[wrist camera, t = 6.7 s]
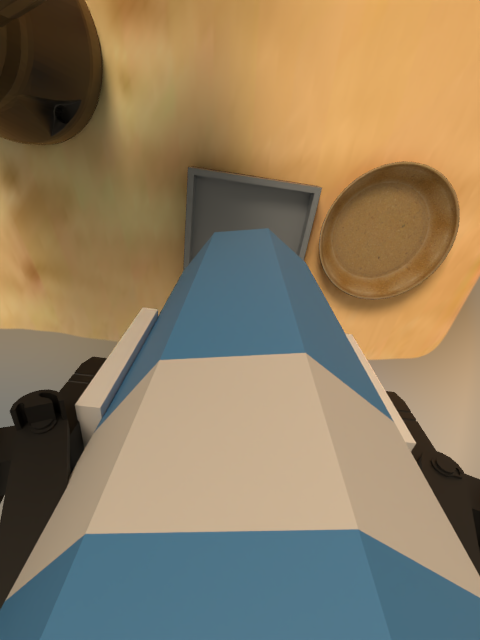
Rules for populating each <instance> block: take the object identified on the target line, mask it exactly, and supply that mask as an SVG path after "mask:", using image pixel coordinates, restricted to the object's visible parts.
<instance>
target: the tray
mask: <svg viewBox="0 0 480 640" xmlns="http://www.w3.org/2000/svg"><path fill="white" fill-rule="evenodd" d="M321 189H322V188H321V187H318V186H314V185H307V184H301V183H295V182H288V181H282V180H275V179H269V178H262V177H256V176H249V175H243V174H236V173H230V172H223V171H217V170H211V169H204V168H198V167H188V182H187V204H186V227H185V249H184V270H185V268H186V267H187V266H188V265H189V263H190V262H191V261H192V260H193V258H194V257H195V256H196V255H197V253H198V252H199V251H200V250H201V248H202V247H203V246H204V245H205V244H206V242H207V241H208V240H209V239H210V237H211V236H212V235H213V234H214V232H225V231H238V230H252V229H265V228H269V229H270V230H271V231H272V232H273V233H274V234H275V235H276V236H277V237H278V238H279V239H280V240H282V241H283V242H284V243H285V244H286V245H287V246H288V247H289V248H290V249H291V250H292V251H294V252H295V253H296V254H297V255H298V256H299V257H300V258H301V259H302V260H303V261H304V257H305V253H306V249H307V245H308V241H309V237H310V233H311V229H312V225H313V221H314V217H315V213H316V209H317V205H318V201H319V197H320V193H321Z"/></svg>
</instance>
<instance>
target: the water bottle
mask: <svg viewBox="0 0 480 640" xmlns="http://www.w3.org/2000/svg"><path fill="white" fill-rule="evenodd" d="M0 640H480V576H479V574H478V572H477V570H476V569H475V567H474V565H473V563H472V561H471V560H470V558H469V556H468V554H467V552H466V551H465V549H464V547H463V545H462V543H461V542H460V540H459V538H458V536H457V534H456V533H455V531H454V529H453V527H452V525H451V524H450V522H449V520H448V518H447V516H446V515H445V513H444V511H443V509H442V507H441V506H440V504H439V502H438V500H437V498H436V497H435V495H434V493H433V491H432V489H431V488H430V486H429V484H428V482H427V480H426V479H425V477H424V475H423V473H422V471H421V470H420V468H419V466H418V464H417V462H416V460H415V459H414V457H413V455H412V453H411V451H410V450H409V448H408V446H407V444H406V442H405V441H404V439H403V437H402V435H401V433H400V432H399V430H398V428H397V426H396V424H395V423H394V421H393V419H392V417H391V415H390V414H389V412H388V410H387V408H386V406H385V405H384V403H383V401H382V399H381V397H380V396H379V394H378V392H377V390H376V388H375V387H374V385H373V383H372V381H371V379H370V378H369V376H368V374H367V372H366V370H365V369H364V367H363V365H362V363H361V361H360V360H359V358H358V356H357V354H356V352H355V351H354V349H353V347H352V345H351V343H350V342H349V340H348V338H347V336H346V334H345V333H344V331H343V329H342V327H341V325H340V324H339V322H338V320H337V318H336V316H335V315H334V313H333V311H332V309H331V307H330V306H329V304H328V302H327V300H326V298H325V297H324V295H323V293H322V291H321V289H320V288H319V286H318V284H317V282H316V280H315V279H314V277H313V275H312V273H311V271H310V270H309V268H308V266H307V264H306V263H305V262H304V261H303V260H302V259H301V258H300V257H299V256H298V255H297V254H296V253H295V252H294V251H292V250H291V249H290V248H289V247H288V246H287V245H286V244H285V243H284V242H283V241H282V240H280V239H279V238H278V237H277V236H276V235H275V234H274V233H273V232H272V231H271V230H270V229H269V228H265V229H252V230H238V231H225V232H214V234H213V235H212V236H211V237H210V239H209V240H208V241H207V242H206V244H205V245H204V246H203V247H202V248H201V250H200V251H199V252H198V253H197V255H196V256H195V257H194V258H193V260H192V261H191V262H190V263H189V265H188V266H187V267H186V268H185V270H184V271H183V273H182V275H181V276H180V278H179V280H178V282H177V284H176V285H175V287H174V289H173V291H172V293H171V294H170V296H169V298H168V300H167V302H166V303H165V305H164V307H163V309H162V311H161V312H160V314H159V316H158V318H157V320H156V322H155V324H154V326H153V327H152V329H151V331H150V333H149V335H148V336H147V338H146V340H145V342H144V344H143V345H142V347H141V349H140V351H139V353H138V354H137V356H136V358H135V360H134V362H133V363H132V365H131V367H130V369H129V371H128V373H127V374H126V376H125V378H124V380H123V382H122V383H121V385H120V387H119V389H118V391H117V392H116V394H115V396H114V398H113V400H112V401H111V403H110V405H109V407H108V409H107V410H106V412H105V414H104V416H103V418H102V419H101V421H100V422H99V424H98V426H97V428H96V430H95V431H94V433H93V435H92V437H91V439H90V440H89V442H88V444H87V446H86V448H85V449H84V451H83V453H82V455H81V457H80V458H79V460H78V462H77V464H76V466H75V468H74V469H73V471H72V473H71V475H70V477H69V480H68V485H67V488H66V490H65V492H64V494H63V496H62V497H61V499H60V501H59V503H58V505H57V507H56V508H55V510H54V512H53V514H52V516H51V518H50V519H49V521H48V523H47V525H46V527H45V529H44V530H43V532H42V534H41V536H40V538H39V540H38V541H37V543H36V545H35V547H34V549H33V551H32V553H31V554H30V556H29V558H28V560H27V562H26V564H25V565H24V567H23V569H22V571H21V573H20V575H19V576H18V578H17V580H16V582H15V584H14V586H13V587H12V589H11V591H10V593H9V595H8V597H7V598H6V600H5V602H4V604H3V606H2V608H1V609H0Z"/></svg>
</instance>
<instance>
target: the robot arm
mask: <svg viewBox="0 0 480 640" xmlns="http://www.w3.org/2000/svg"><path fill="white" fill-rule="evenodd" d="M101 82H102V60H101V51H100V45H99V40H98V36H97V32H96V28H95V25H94V22H93V19H92V17H91V14H90V11H89V9H88V7H87V5H86V2H85V0H0V137H2V138H5V139H8V140H11V141H15V142H19V143H25V144H38V145H49V144H56V143H60V142H63V141H66V140H68V139H70V138H72V137H73V136H75V135H76V134H77V133H79V132H80V131H81V130H82V129H83V128H84V127H85V125H86V124H87V123H88V121H89V120H90V118H91V117H92V115H93V113H94V111H95V108H96V106H97V103H98V99H99V95H100V90H101ZM157 318H158V309H152V308H144V307H142V309H141V310H140V312H139V313H138V315H137V316H136V317H135V319H134V320H133V322H132V323H131V325H130V326H129V328H128V329H127V330H126V332H125V333H124V335H123V336H122V338H121V339H120V341H119V342H118V343H117V345H116V346H115V348H114V349H113V351H112V352H111V354H110V355H109V356H108V358H99V357H92V358H90V359H88V360H87V361H85V362H84V363H82V364H81V365H80V367H79V368H78V369H77V370H76V372H75V374H74V375H72V377H71V378H70V379H69V381H68V382H67V383H66V384H65V385H64V387H63V388H62V389H61V390H60V392H59V393H58V392H57V391H53V390H39V391H35V392H32V393H29V394H27V395H25V396H23V397H21V398H20V399H19V400H18V401H16V402H15V403H14V404H13V406H12V408H11V410H10V413H11V416H12V419H13V422H14V424H15V426H10V427H3V428H0V503H1V501H2V499H3V497H4V495H5V499H4V504H3V510H2V516H1V521H0V609H1V608H2V606H3V604H4V602H5V600H6V598H7V597H8V595H9V593H10V591H11V589H12V587H13V586H14V584H15V582H16V580H17V578H18V576H19V575H20V573H21V571H22V569H23V567H24V565H25V564H26V562H27V560H28V558H29V556H30V554H31V553H32V551H33V549H34V547H35V545H36V543H37V541H38V540H39V538H40V536H41V534H42V532H43V530H44V529H45V527H46V525H47V523H48V521H49V519H50V518H51V516H52V514H53V512H54V510H55V508H56V507H57V505H58V503H59V501H60V499H61V497H62V496H63V494H64V492H65V490H66V488H67V485H68V480H69V477H70V475H71V473H72V471H73V469H74V468H75V466H76V464H77V462H78V460H79V458H80V457H81V455H82V453H83V451H84V449H85V448H86V446H87V444H88V442H89V440H90V439H91V437H92V435H93V433H94V431H95V430H96V428H97V426H98V424H99V422H100V421H101V419H102V418H103V416H104V414H105V412H106V410H107V409H108V407H109V405H110V403H111V401H112V400H113V398H114V396H115V394H116V392H117V391H118V389H119V387H120V385H121V383H122V382H123V380H124V378H125V376H126V374H127V373H128V371H129V369H130V367H131V365H132V363H133V362H134V360H135V358H136V356H137V354H138V353H139V351H140V349H141V347H142V345H143V344H144V342H145V340H146V338H147V336H148V335H149V333H150V331H151V329H152V327H153V326H154V324H155V322H156V320H157ZM346 336H347V338H348V340H349V342H350V343H351V345H352V347H353V349H354V351H355V352H356V354H357V356H358V358H359V360H360V361H361V363H362V365H363V367H364V369H365V370H366V372H367V374H368V376H369V378H370V379H371V381H372V383H373V385H374V387H375V388H376V390H377V392H378V394H379V396H380V397H381V399H382V401H383V403H384V405H385V406H386V408H387V410H388V412H389V414H390V415H391V417H392V419H393V421H394V423H395V424H396V426H397V428H398V430H399V432H400V433H401V435H402V437H403V439H404V441H405V442H406V444H407V446H408V448H409V450H410V451H411V453H412V455H413V457H414V459H415V460H416V462H417V464H418V466H419V468H420V470H421V471H422V473H423V475H424V477H425V479H426V480H427V482H428V484H429V486H430V488H431V489H432V491H433V493H434V495H435V497H436V498H437V500H438V502H439V504H440V506H441V507H442V509H443V511H444V513H445V515H446V516H447V518H448V520H449V522H450V524H451V525H452V527H453V529H454V531H455V533H456V534H457V536H458V538H459V540H460V542H461V543H462V545H463V547H464V549H465V551H466V552H467V554H468V556H469V558H470V560H471V561H472V563H473V565H474V567H475V569H476V570H477V572H478V574H479V576H480V479H477V478H474V477H472V476H469V475H467V474H464V472H463V470H462V469H461V468H460V467H459V465H458V464H457V463H456V462H454V461H453V460H452V459H451V458H450V457H448V456H446V455H444V454H443V453H440V452H437V451H436V450H435V448H434V447H433V445H432V444H431V442H430V440H429V439H428V437H427V436H426V434H425V433H424V431H423V430H422V428H421V427H420V425H419V423H418V422H417V421H416V419H415V417H414V416H413V414H412V413H411V411H410V409H409V408H408V406H407V405H406V403H405V402H404V401H403V400H402V399H401V398H400V397H399V396H398V395H397V394H396V393H395V392H388V391H385V390H384V388H383V386H382V385H381V383H380V381H379V379H378V378H377V376H376V374H375V373H374V371H373V369H372V368H371V366H370V364H369V362H368V361H367V359H366V357H365V356H364V354H363V352H362V351H361V349H360V347H359V346H358V344H357V342H356V340H355V339H354V337H353V335H352V334H346Z"/></svg>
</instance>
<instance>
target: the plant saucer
mask: <svg viewBox="0 0 480 640" xmlns="http://www.w3.org/2000/svg"><path fill="white" fill-rule="evenodd" d="M459 215H460V214H459V204H458V199H457V195H456V193H455V190H454V189H453V187H452V185H451V183H449V181H448V180H447V178H446V177H445V176H444V175H443V174H441V173H440V172H439V171H437V170H435V169H434V168H432V167H430V166H427V165H424V164H420V163H416V162H395V163H391V164H386V165H382V166H380V167H377V168H374V169H372V170H370V171H368V172H367V173H365V174H363V175H362V176H360V177H359V178H357V179H356V180H354V181H353V182H352V183H351V184H350V185H349V186H348V187H346V188H345V189H344V190H343V192H342V193H341V194H340V195H339V196H338V197H337V199H336V200H335V201H334V203H333V204H332V206H331V208H330V209H329V211H328V213H327V215H326V217H325V220H324V222H323V225H322V229H321V233H320V240H319V253H320V259H321V263H322V267H323V269H324V271H325V273H326V275H327V276H328V278H329V279H330V280H331V282H332V283H333V284H334V285H335V286H336V287H338V288H339V289H340V290H342V291H343V292H345V293H347V294H349V295H351V296H354V297H358V298H362V299H384V298H389V297H393V296H396V295H399V294H402V293H404V292H406V291H408V290H410V289H412V288H414V287H415V286H417V285H419V284H420V283H421V282H423V281H424V280H425V279H427V278H428V277H429V276H430V275H431V274H432V273H433V272H434V271H435V270H436V269H437V268H438V267H439V266H440V265H441V263H442V262H443V261H444V259H445V258H446V256H447V255H448V253H449V251H450V250H451V248H452V246H453V243H454V241H455V238H456V235H457V232H458V227H459Z"/></svg>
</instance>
